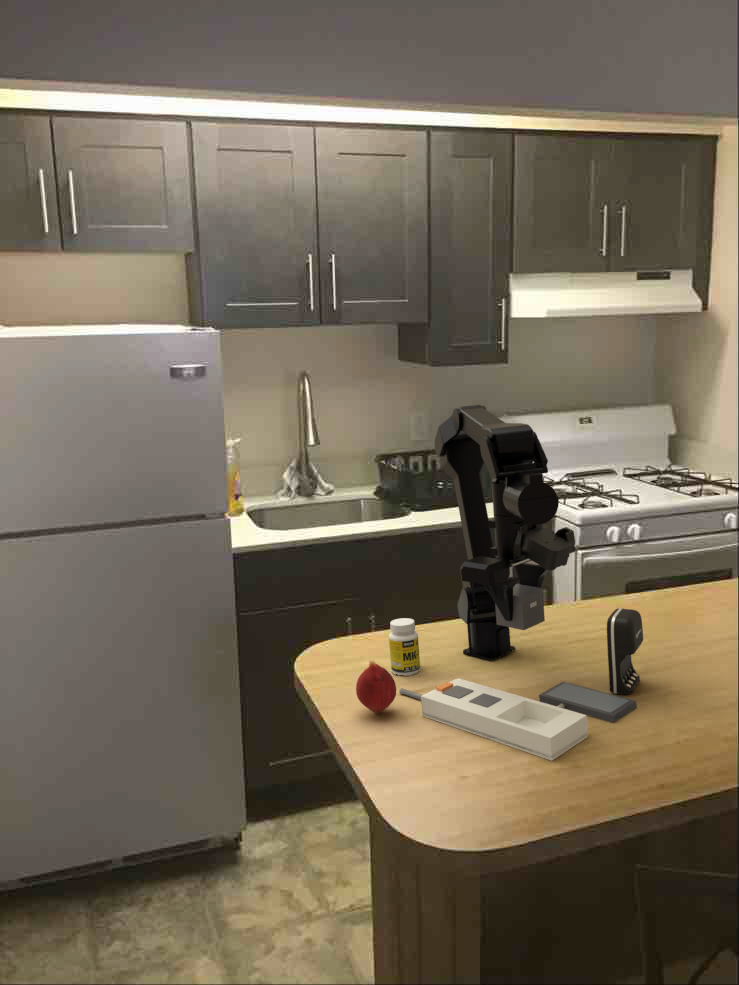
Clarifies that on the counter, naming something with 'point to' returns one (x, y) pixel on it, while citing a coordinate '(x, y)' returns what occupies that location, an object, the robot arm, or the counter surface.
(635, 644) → the battery charger
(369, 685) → the onion
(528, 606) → the charger cube
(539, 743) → the power strip
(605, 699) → the phone
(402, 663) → the supplement bottle
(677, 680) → the counter surface
